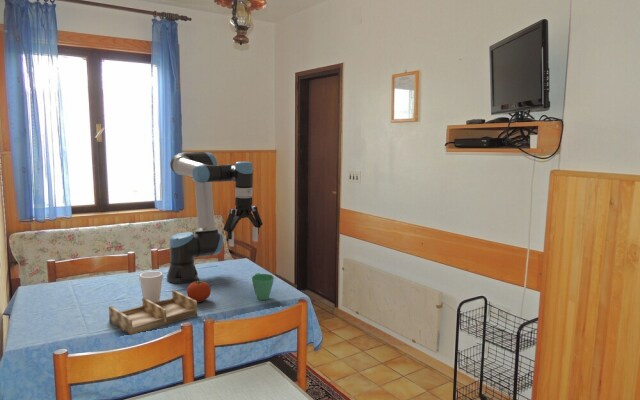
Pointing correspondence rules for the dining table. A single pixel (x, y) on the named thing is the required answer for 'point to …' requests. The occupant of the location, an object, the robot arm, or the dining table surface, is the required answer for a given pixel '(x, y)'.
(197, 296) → the tomato
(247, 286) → the dining table surface
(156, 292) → the foam cup
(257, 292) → the mug
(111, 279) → the dining table surface
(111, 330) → the dining table surface
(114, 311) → the rack
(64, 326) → the dining table surface
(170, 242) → the robot arm
